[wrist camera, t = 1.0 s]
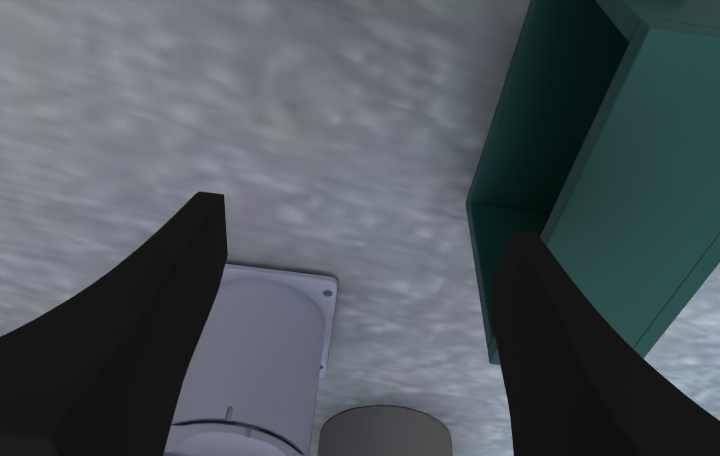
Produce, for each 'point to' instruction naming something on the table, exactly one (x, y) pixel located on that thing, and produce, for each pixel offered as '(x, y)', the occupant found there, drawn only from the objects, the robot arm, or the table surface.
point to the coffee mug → (384, 433)
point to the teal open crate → (608, 157)
